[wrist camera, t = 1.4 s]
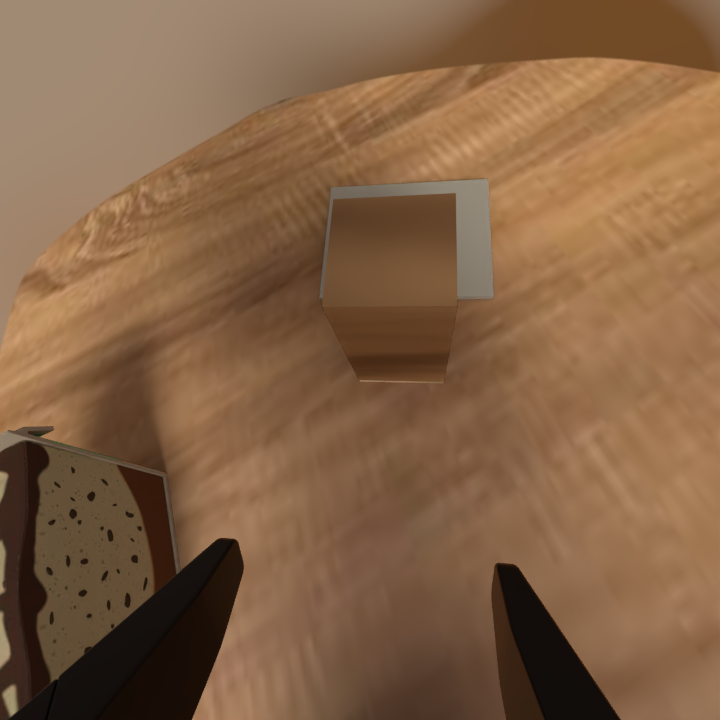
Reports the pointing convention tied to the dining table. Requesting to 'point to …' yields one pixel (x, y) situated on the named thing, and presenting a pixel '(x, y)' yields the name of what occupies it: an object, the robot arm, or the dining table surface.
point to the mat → (469, 228)
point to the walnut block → (393, 285)
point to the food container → (72, 554)
